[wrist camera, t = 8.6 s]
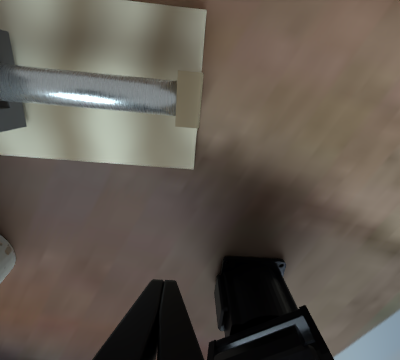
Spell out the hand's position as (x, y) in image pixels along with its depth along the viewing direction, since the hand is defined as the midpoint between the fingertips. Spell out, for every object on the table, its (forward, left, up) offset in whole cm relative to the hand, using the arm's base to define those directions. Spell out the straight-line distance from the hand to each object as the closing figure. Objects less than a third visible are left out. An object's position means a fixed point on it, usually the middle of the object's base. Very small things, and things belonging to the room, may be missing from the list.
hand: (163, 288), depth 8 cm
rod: (+8, -6, -10) cm, 14 cm away
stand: (+8, -6, -12) cm, 16 cm away
